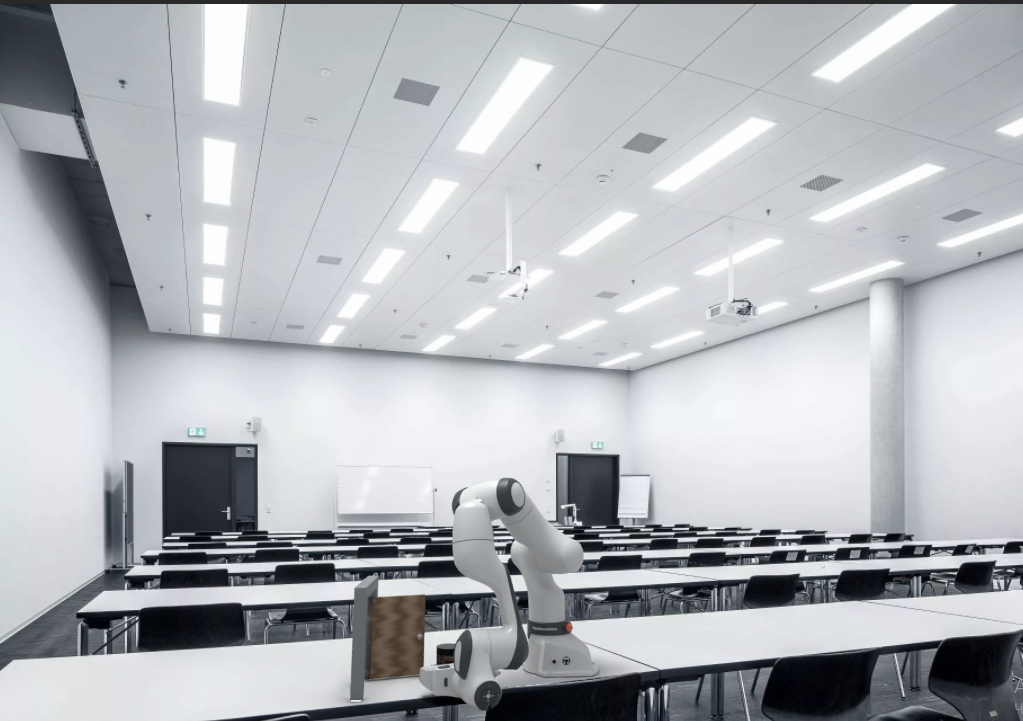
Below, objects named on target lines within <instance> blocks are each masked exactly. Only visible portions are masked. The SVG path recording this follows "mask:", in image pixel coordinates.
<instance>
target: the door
mask: <svg viewBox="0 0 1023 721" xmlns="http://www.w3.org/2000/svg"><path fill="white" fill-rule="evenodd" d="M425 626H426V594H404V595H386V596H378V597H368V605H367V632H366V659H365V680H366V681H367V680H368V681H370V680H369V679H372V680H376V679H377V680H379V679H389V678H399V677H408V676H411V677H412V676H420V668H421V667H425V632H426V631H425V629H426V628H425ZM365 680H364V681H365Z"/></svg>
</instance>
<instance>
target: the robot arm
mask: <svg viewBox="0 0 1023 721" xmlns="http://www.w3.org/2000/svg"><path fill="white" fill-rule="evenodd" d="M451 509H452V514H453V524H452V556H453V557H452V558H453V562H454V565H455V567H456V568H457V570H458V571H459V572H460V573H461V574H462V576H464V577H466V578H468V579H470V580H472V581H474V582H477V583H480V584H482V585H484V586H486V587H488V588H489V589H490V590H492V592H493V594H495V596H496V599H497V604H498V610H499V614H500V618H501V623H502V627H494V628H471V629H464V631H462V633H461V634H460V635H459V636H458V638H457V640H456V641H455V643H454V644H455V646H454V654H453V661H454V663H452V664H444V665H436V663H435V664H432V663H431V664H430V665H428V666H427V665H424V667H421V668H420V675H419V682H420V684H421V685H422V686H423V687H424V688H426V689H427V690H430V691H432V694H433V695H434V696H438V697H452V698H453V697H454V698H458V699H459V698H460V699H462V700H463V702H464V703H465V704H466V705H467V706H469V707H470V708H472V709H474V710H477V711H481V712H486V711H489V709H488V710H487V708H488V703H489V708H490V705H491V709H493V708H495V707H496V706H497V705H498V704H499V703H500V700H501V698H502V694H503V690H502V686H501V684H500V682H499V681H498V679H497V678H496V677H498V676H499V675H501V674H502V673H501V670H506V671H508V670H509V671H511V670H512V671H518V670H519V669H520V668H521V667H522V666H523V665H524V666H523V669H524V670H525V671H526V672H528V673H532V674H535V675H538V676H540V677H543V678H550V677H551V678H552V677H553V678H554V677H555V678H558V677H559V678H562V677H593V676H595V675H597V674H598V673H599V671H600V670H599V665H598V663H597V662H595V661H594V660H593V661H592V655H591V652H590V649H589V647H588V646H587V644H586V643H585V642H583V641H582V640H581V639H580V638H578V636H576V635H575V634H573V633H572V632H573V631H572V630H574V629H573V628H574V626H573V624H572V622H571V620H568V619H566V609H565V608H566V604H565V603H566V602H565V601H566V600H565V598H566V597H565V593H564V590H563V589H562V588H561V587H560V586H559V585H558V584H557V583H556V581H555V579H554V577H553V574H556V575H557V574H558V575H567V574H572V573H576V572H578V571H579V570H580V569H581V567H582V566H583V563H584V558H585V556H584V549H583V547H582V545H581V543H580V542H579V541H578V540H575V539H573V538H571V537H570V536H568V535H566V534H564V533H563V532H562V531H560V530H559V529H558V527H555V526H554V525H553V524H552V523H551V522H549V521H548V519H546V518H545V517H544V516H543V515H542V512H541V511H540V510H539V508H538V507H537V506H536V505H535V503H534V502H533V500H532V498H531V497H530V495H529V494H528V493H527V492H526V491H525V489H524V486H522V484H521V483H520V482H519V481H518V480H517V479H516V478H513V477H502V478H500V479H493V480H486V481H483V482H481V483H477V484H475V485H471V486H469V487H468V486H467V487H464V488H461V489H459V490H458V491H456V492H455V493H454V495H453V497H452V501H451ZM497 520H500V522H501V523H502V525H504V527H505V528H506V530H507V532H509V534H510V536H511V537H512V538H513V540H514V541H513V542H512V544H511V547H510V557H511V562H512V563H513V564H514V565H515V566H516V568H517V569H518V570H519V573H521V575H522V577H523V580H524V582H525V586H526V590H527V596H528V598H527V599H528V619H527V621H526V632H525V630H524V626H523V623H522V619H521V615H520V611H519V605H518V602H517V597H516V592H515V589H514V588H515V587H514V584H513V580H512V576H511V573H510V570H509V568H508V565H507V564H506V563H504V562H503V561H501V559H500V558H499V556H498V553H497V551H496V548H495V547H496V546H495V539H494V538H495V537H494V528H493V523H492V522H493V521H497ZM491 709H490V710H491Z"/></svg>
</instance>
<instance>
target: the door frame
mask: <svg viewBox="0 0 1023 721" xmlns="http://www.w3.org/2000/svg"><path fill="white" fill-rule="evenodd" d="M379 578H380V576H379V575H368V576H367V577H366V578H364V579H363V580H362V581H360V583H358V584H357V585H356V586H355V587H354V592H353V615H352V616H353V620H352V639H351V640H352V642H351V643H352V644H351V664H350V665H351V666H350V686H349V687H350V688H349V689H350V691H349V702H350V701H351V700H362V699H363V697H365V696H364V695H365V680H364V679H365V659H366V632H367V605H368V597H379ZM363 700H364V699H363Z"/></svg>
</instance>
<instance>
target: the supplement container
mask: <svg viewBox="0 0 1023 721" xmlns="http://www.w3.org/2000/svg"><path fill="white" fill-rule="evenodd" d="M454 646H455V643H446V642H445V643H440V644H438V645H436V650H435V651H436V656H435V659H436V660H435V664H436V665H444V664H452V663H454V661H453V654H454Z"/></svg>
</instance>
